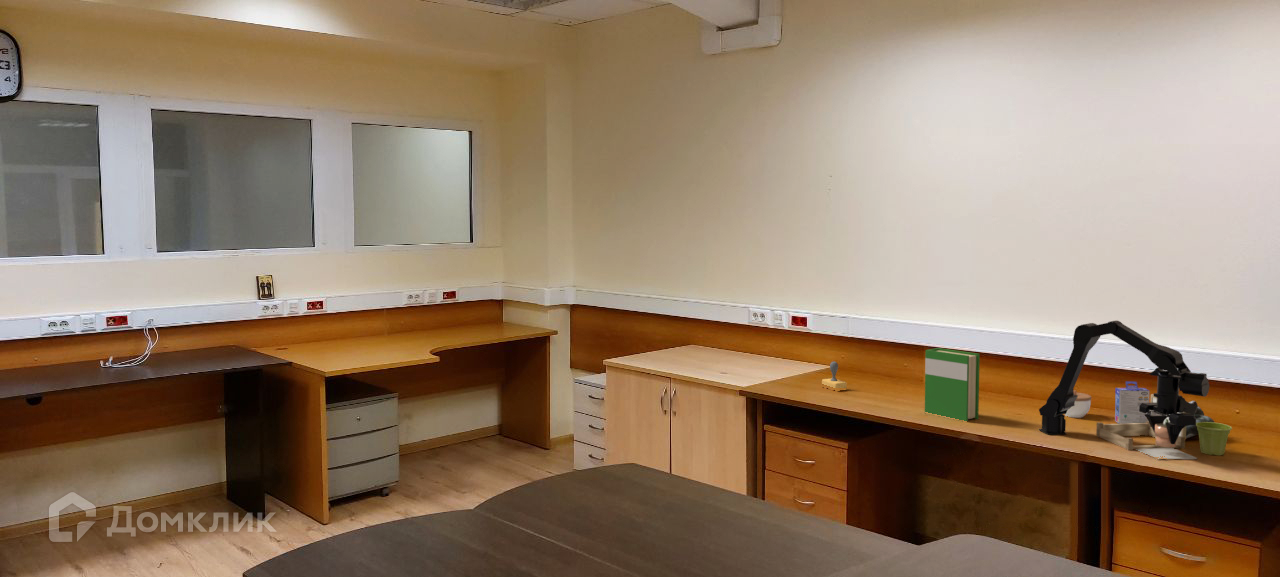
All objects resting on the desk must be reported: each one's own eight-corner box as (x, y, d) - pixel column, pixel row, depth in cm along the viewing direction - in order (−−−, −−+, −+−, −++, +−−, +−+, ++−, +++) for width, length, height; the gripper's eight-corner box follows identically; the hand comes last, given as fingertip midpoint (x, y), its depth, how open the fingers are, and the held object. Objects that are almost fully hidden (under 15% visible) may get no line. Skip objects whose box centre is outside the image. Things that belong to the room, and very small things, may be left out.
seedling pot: (1162, 448, 264) (1163, 421, 263) (1149, 442, 270) (1150, 417, 269) (1182, 447, 264) (1183, 421, 264) (1168, 442, 271) (1170, 416, 270)
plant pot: (1238, 455, 266) (1239, 427, 265) (1216, 458, 262) (1218, 430, 261) (1208, 447, 274) (1209, 420, 274) (1187, 451, 271) (1188, 423, 270)
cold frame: (1128, 450, 273) (1128, 435, 272) (1096, 435, 290) (1096, 422, 290) (1184, 448, 274) (1185, 434, 273) (1149, 434, 291) (1150, 420, 291)
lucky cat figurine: (1175, 441, 281) (1156, 400, 286) (1164, 447, 292) (1146, 407, 297) (1223, 429, 279) (1204, 388, 284) (1210, 435, 290) (1192, 395, 295)
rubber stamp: (821, 387, 375) (821, 360, 374) (832, 386, 378) (832, 359, 377) (835, 391, 366) (836, 363, 365) (846, 390, 369) (847, 362, 368)
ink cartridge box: (1143, 421, 309) (1145, 381, 307) (1149, 425, 303) (1151, 384, 302) (1113, 420, 311) (1114, 380, 309) (1118, 424, 305) (1120, 383, 304)
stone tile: (1158, 460, 262) (1158, 458, 262) (1135, 450, 273) (1135, 449, 273) (1196, 459, 262) (1196, 457, 262) (1172, 449, 273) (1172, 447, 273)
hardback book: (978, 419, 316) (979, 353, 314) (966, 422, 312) (967, 356, 309) (936, 410, 330) (937, 347, 328) (924, 413, 326) (925, 350, 324)
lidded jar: (1089, 413, 321) (1090, 388, 320) (1091, 420, 311) (1092, 394, 310) (1057, 411, 325) (1058, 386, 324) (1058, 417, 316) (1058, 392, 315)
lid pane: (1182, 438, 274) (1184, 405, 273) (1149, 425, 290) (1150, 394, 289) (1185, 438, 274) (1187, 405, 273) (1152, 425, 290) (1153, 394, 289)
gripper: (1214, 397, 257) (1212, 448, 258) (1173, 384, 275) (1171, 432, 277) (1178, 398, 256) (1176, 449, 258) (1139, 385, 275) (1137, 433, 276)
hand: (1165, 441), depth 267 cm, fingers closed on seedling pot, 6 cm apart
